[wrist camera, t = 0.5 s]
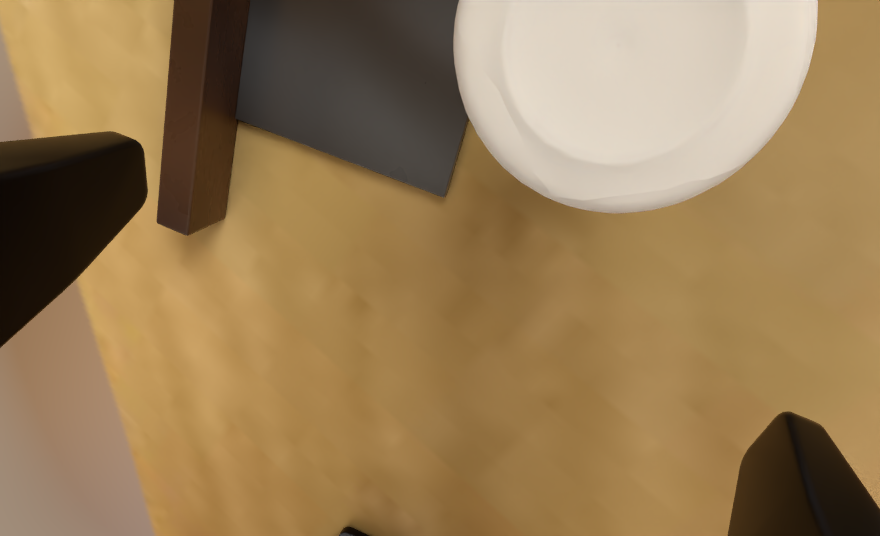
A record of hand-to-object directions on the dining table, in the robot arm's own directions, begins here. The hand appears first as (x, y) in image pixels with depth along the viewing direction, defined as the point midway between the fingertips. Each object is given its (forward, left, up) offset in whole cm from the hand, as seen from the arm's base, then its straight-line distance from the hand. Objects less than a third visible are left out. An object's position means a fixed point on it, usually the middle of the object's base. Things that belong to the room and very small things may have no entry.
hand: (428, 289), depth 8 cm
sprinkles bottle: (+3, -1, -15) cm, 16 cm away
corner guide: (-1, +9, -15) cm, 17 cm away
